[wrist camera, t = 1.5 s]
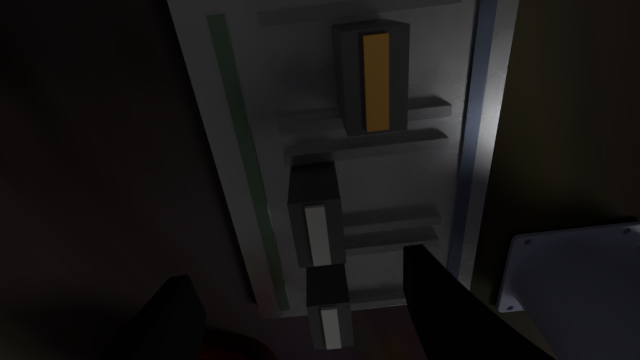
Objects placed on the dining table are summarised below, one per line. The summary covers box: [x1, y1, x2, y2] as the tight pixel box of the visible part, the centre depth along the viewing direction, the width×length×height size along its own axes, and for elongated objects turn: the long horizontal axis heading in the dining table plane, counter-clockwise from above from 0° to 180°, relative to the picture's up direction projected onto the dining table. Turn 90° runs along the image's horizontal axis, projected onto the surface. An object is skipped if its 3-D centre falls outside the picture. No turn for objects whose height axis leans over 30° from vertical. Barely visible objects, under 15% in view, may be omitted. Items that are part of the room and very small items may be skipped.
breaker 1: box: [287, 161, 346, 268], centre depth 18 cm, size 2×4×4 cm, turn 6°
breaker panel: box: [167, 0, 519, 320], centre depth 20 cm, size 16×22×2 cm
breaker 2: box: [306, 263, 354, 350], centre depth 21 cm, size 2×4×4 cm, turn 6°
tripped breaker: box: [332, 19, 410, 137], centre depth 14 cm, size 2×4×4 cm, turn 6°
